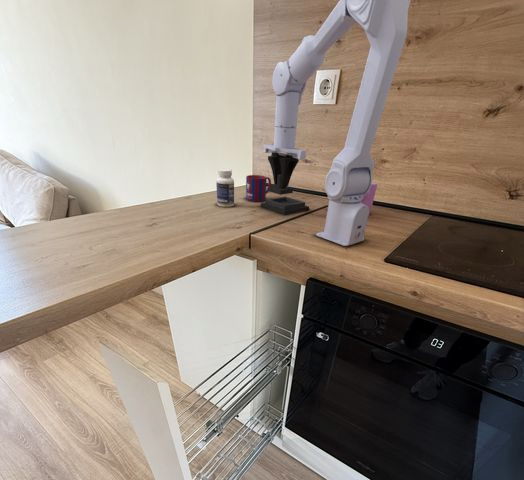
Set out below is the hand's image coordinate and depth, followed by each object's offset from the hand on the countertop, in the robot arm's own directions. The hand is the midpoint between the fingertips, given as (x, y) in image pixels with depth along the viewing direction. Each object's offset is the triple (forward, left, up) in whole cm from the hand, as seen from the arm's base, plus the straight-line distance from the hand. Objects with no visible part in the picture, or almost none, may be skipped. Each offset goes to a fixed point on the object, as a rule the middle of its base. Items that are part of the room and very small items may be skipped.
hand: (281, 185), depth 87 cm
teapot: (-10, -19, -8) cm, 23 cm away
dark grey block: (0, 0, -2) cm, 2 cm away
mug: (+17, -6, -8) cm, 19 cm away
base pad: (+3, -5, -8) cm, 10 cm away
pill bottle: (+16, +9, -8) cm, 19 cm away
